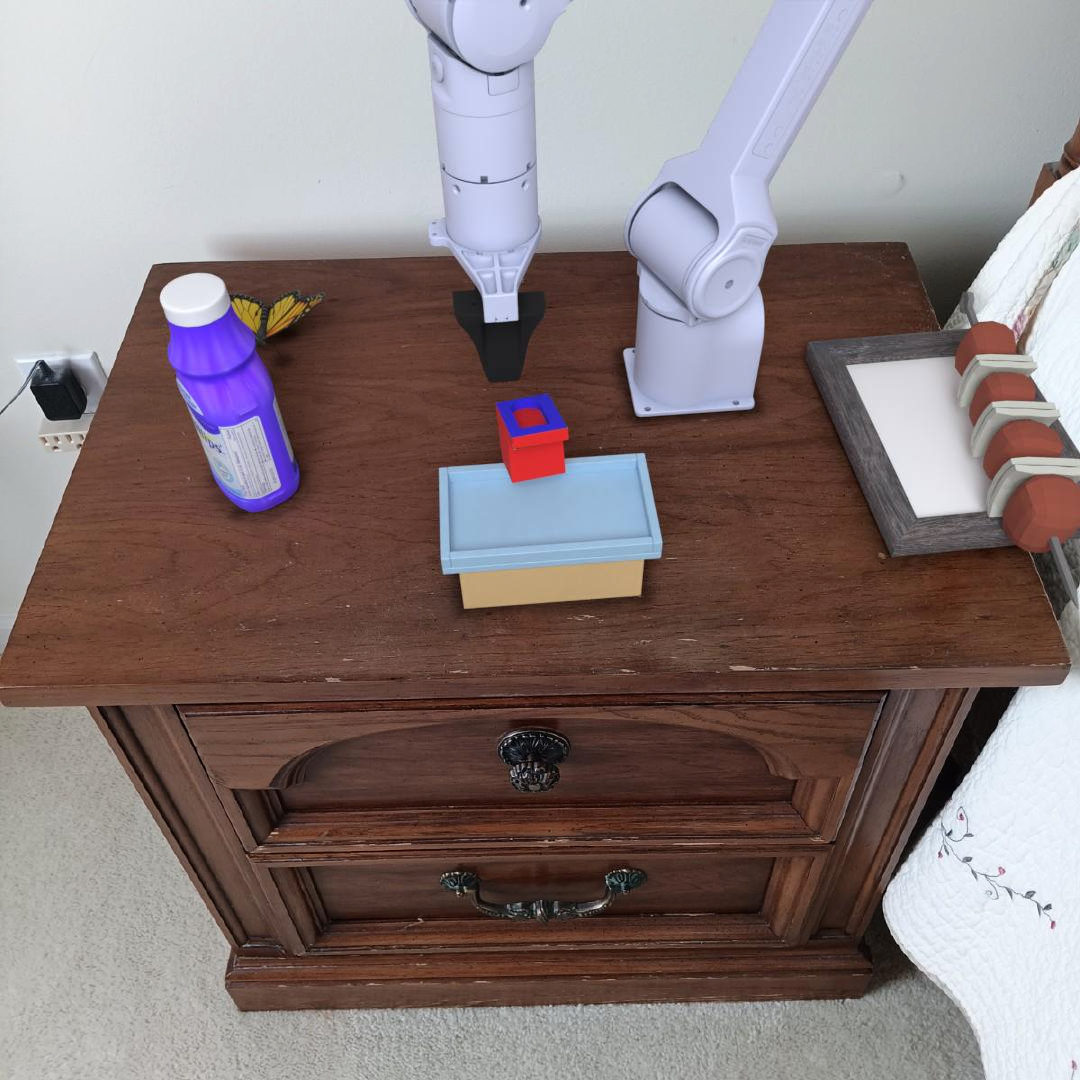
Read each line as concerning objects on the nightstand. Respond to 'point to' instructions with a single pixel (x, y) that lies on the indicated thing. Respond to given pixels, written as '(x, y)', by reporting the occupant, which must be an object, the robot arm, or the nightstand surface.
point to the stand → (548, 531)
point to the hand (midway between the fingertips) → (500, 341)
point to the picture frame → (912, 439)
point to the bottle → (228, 394)
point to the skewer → (1017, 442)
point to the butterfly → (272, 313)
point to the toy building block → (531, 437)
